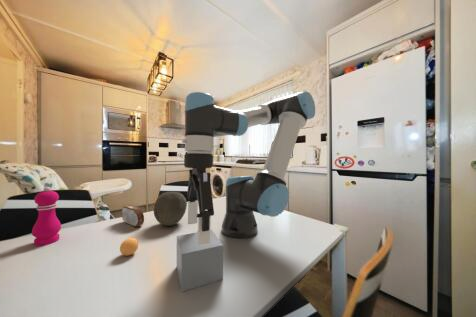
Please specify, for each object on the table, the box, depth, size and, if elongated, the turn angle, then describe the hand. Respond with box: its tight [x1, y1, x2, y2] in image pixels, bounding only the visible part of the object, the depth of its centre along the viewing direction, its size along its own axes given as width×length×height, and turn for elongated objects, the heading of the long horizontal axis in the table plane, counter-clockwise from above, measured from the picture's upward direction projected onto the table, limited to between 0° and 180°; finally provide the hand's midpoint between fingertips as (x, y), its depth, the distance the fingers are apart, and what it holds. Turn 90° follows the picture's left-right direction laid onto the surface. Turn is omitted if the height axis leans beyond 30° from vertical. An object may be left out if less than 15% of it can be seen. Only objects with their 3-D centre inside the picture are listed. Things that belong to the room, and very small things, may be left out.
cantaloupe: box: [153, 191, 188, 227], centre depth 81 cm, size 14×14×15 cm
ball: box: [119, 237, 139, 257], centre depth 56 cm, size 5×5×5 cm
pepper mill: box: [31, 186, 62, 247], centre depth 64 cm, size 7×7×20 cm
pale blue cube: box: [176, 229, 224, 293], centre depth 47 cm, size 10×10×9 cm
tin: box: [121, 204, 145, 228], centre depth 80 cm, size 15×3×8 cm, turn 58°
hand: (197, 232), depth 47 cm, fingers open, 13 cm apart
